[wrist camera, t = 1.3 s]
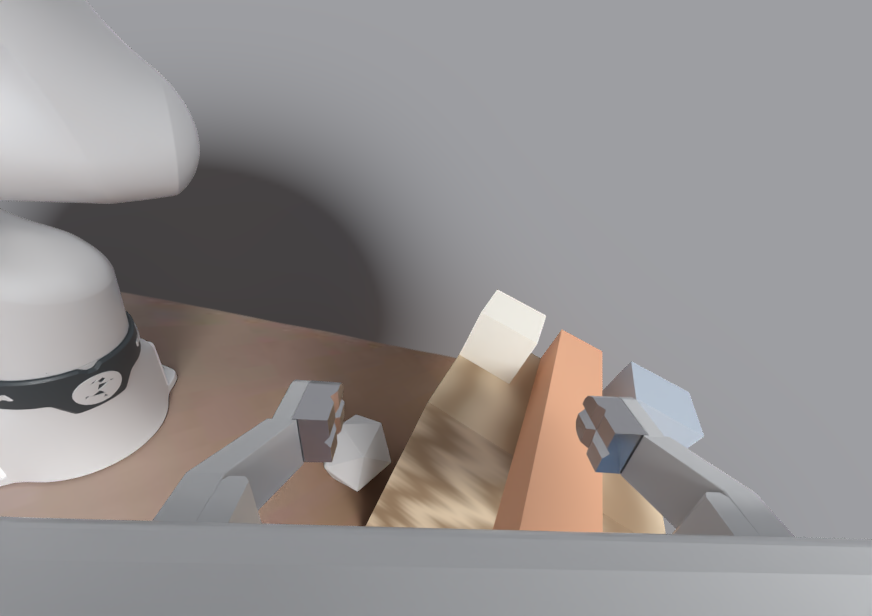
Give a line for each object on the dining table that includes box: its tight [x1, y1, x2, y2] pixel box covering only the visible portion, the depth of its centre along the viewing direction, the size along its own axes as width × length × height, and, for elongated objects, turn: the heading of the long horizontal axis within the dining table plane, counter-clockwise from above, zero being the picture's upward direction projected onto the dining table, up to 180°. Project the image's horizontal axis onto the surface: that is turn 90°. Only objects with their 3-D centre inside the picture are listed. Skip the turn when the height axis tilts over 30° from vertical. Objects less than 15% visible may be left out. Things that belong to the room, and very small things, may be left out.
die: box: [324, 415, 391, 492], centre depth 42 cm, size 8×9×10 cm
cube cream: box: [459, 289, 546, 384], centre depth 29 cm, size 5×5×5 cm
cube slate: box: [602, 361, 704, 448], centre depth 27 cm, size 5×5×5 cm
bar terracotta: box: [493, 330, 603, 532], centre depth 23 cm, size 4×21×4 cm, turn 154°
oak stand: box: [366, 353, 666, 534], centre depth 35 cm, size 18×12×26 cm
